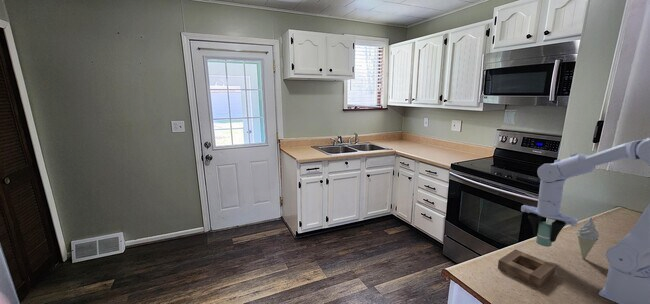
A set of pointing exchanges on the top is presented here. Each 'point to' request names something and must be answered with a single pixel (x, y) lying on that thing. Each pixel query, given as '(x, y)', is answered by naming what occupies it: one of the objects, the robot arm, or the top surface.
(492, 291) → the top surface
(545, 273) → the stand
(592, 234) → the ice cream cone
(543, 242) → the peg
